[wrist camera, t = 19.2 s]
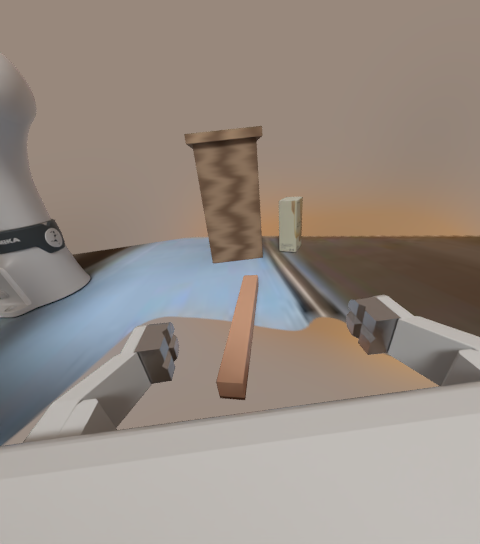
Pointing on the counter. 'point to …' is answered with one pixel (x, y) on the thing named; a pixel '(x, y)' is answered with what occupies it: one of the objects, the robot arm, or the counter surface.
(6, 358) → the counter surface
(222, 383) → the bar
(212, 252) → the pedestal
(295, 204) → the skincare box
